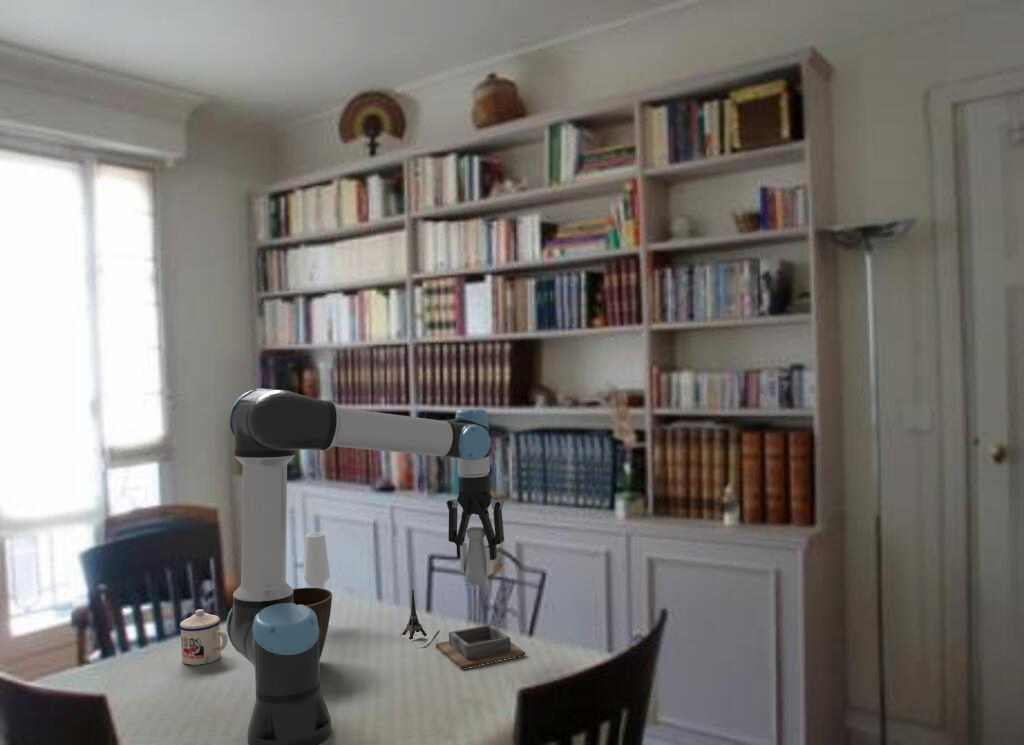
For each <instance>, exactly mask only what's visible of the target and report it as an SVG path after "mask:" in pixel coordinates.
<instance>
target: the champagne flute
mask: <svg viewBox="0 0 1024 745" xmlns="http://www.w3.org/2000/svg"><path fill="white" fill-rule="evenodd" d="M325 534H326V533H324V532H312V533H307V534H306V535H305V546H304V547H305V548H304V550H305V551H304V565H303V566H304V567H303V579H304V581H305V582H306V583H307V585H309V586H310V588H322V587H324V586H325V584H326V583H327V582H328V580H329V578H330V576H331V574H330V566H329V558H328V550H327V549H328V548H327V542H326V541H327V540H326V536H325ZM331 623H332V622H331V621H330V620H329V625H330V624H331ZM329 625H328V627H330V626H331V625H332V624H331V625H330V626H329Z"/></svg>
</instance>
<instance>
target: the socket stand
mask: <svg viewBox="0 0 1024 745" xmlns="http://www.w3.org/2000/svg"><path fill="white" fill-rule="evenodd" d="M435 648H436V649H437V648H438V649H439V650H440V651H441V652H442V653H441V652H440V651H439V650H438V649H437V650H438V651H439V652H440V653H441V654H443V656H445V655H446V656H447V657H448V658H449V659H450V660H449V659H448V658H447V657H446V656H445V657H446V658H447V659H448V660H449V661H450V662H452V661H453V662H454V663H455V664H456V665H457V666H459V667H460V668H461V669H464V670H466V669H465V668H469V667H473V668H475V667H474V666H478V667H480V666H479V665H482V664H487V663H491V662H495V661H499V660H504V659H509V658H513V657H519V656H524V655H525V656H526V652H525V650H523V649H521V647H519V646H517V645H516V644H515V643H513V642H511V637H510V636H508V635H507V634H506V633H504V632H503V631H501V630H500V629H499V628H497V627H496V626H494V625H492V624H490V623H489V624H486V625H485V624H484V625H480V626H475V627H470V628H466V629H465V628H464V629H460V630H459V629H458V630H454V631H450V632H448V641H442V642H437V643H435ZM525 656H524V657H525ZM453 662H452V663H453ZM454 663H453V664H454ZM455 664H454V665H455ZM456 665H455V666H456ZM487 665H488V664H487ZM457 666H456V667H457ZM460 668H459V669H460ZM461 669H460V670H461ZM469 669H470V668H469Z"/></svg>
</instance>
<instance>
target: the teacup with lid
mask: <svg viewBox="0 0 1024 745" xmlns="http://www.w3.org/2000/svg"><path fill="white" fill-rule="evenodd" d="M220 624H221V618H220V617H219V616H218V615H215V614H210V613H207V612H205V610H204V609H196V610H195V614H192V615H190V617H188V618H185V619H184V620H181V621H180V624H179V629H180V641H181V646H180V647H181V661H182V663H183V664H185V665H187V664H190V665H189V666H201V665H200V664H202V665H206V663H207V664H210V663H213V662H215V661H217V660H218V659H219V658H220V657H221V655H222V651H224V649H225V648H226V647H227V644H228V634H227V632H225V631H223V630H222V629H221V627H220V626H221V625H220ZM221 638H222V644H221Z"/></svg>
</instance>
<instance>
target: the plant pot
mask: <svg viewBox="0 0 1024 745" xmlns="http://www.w3.org/2000/svg"><path fill="white" fill-rule="evenodd" d="M332 600H333V592H332V591H331V590H329V589H327V588H326V589H325V588H322V587H321V588H313V587H300V588H293V603H295V604H296V605H300V604H301V605H304V606H307V607H309V608H310V609H312V610H313V611H314V612H315V614H316V616H317V622H318V626H319V662H320V660H321V658H322V654H323V650H324V647H325V643H326V639H327V635H328V629H329V626H328V625H329V621H330V618H331V611H332Z"/></svg>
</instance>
